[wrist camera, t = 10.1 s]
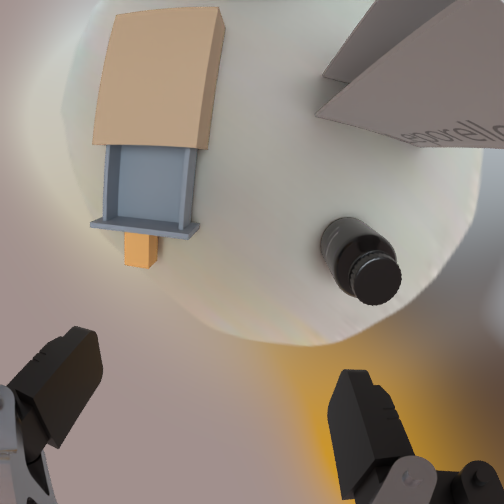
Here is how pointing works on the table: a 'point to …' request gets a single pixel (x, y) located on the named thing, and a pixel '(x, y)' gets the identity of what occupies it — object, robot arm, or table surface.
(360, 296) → the supplement bottle
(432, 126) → the grey standing panel
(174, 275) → the table surface
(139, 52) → the sleeve
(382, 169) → the table surface
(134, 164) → the tray
